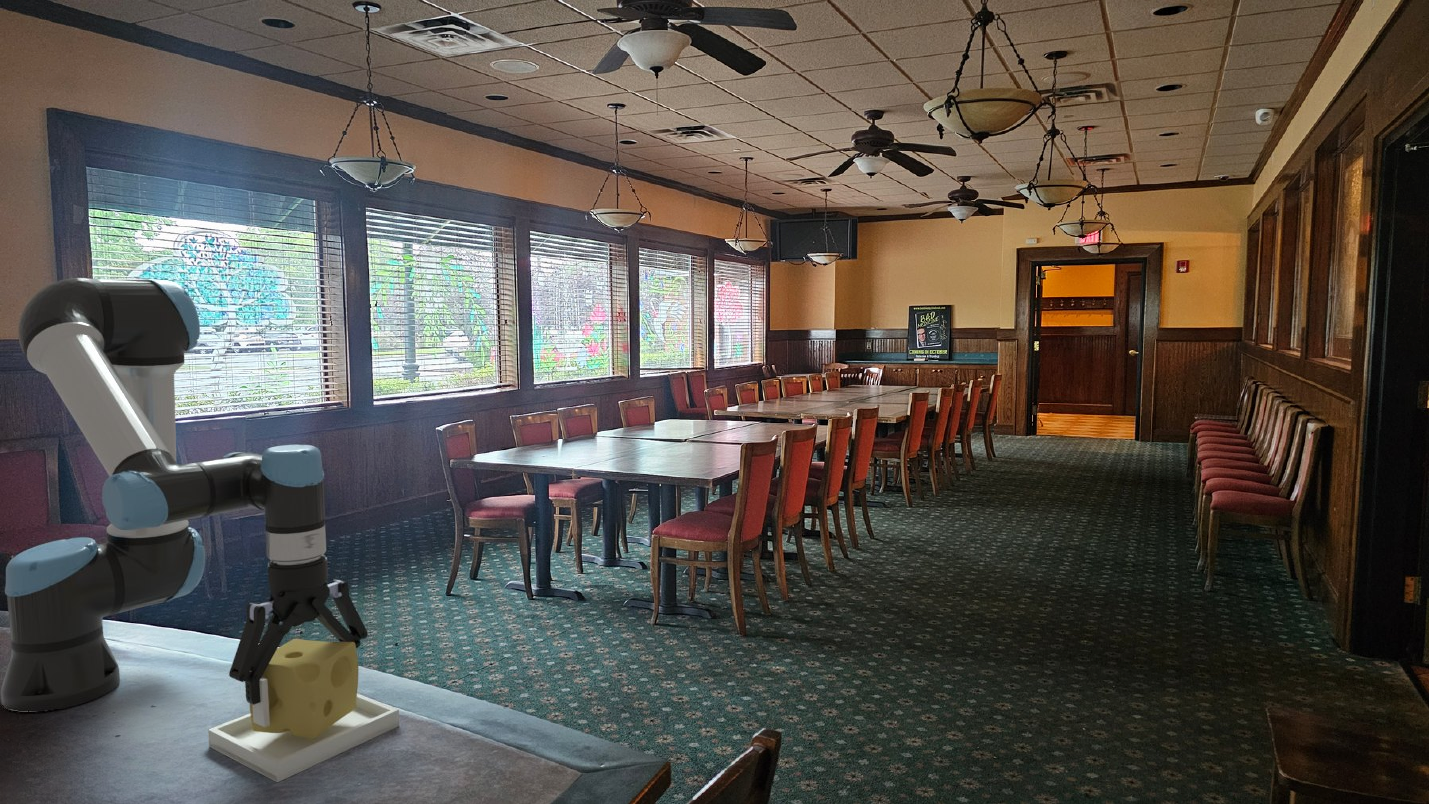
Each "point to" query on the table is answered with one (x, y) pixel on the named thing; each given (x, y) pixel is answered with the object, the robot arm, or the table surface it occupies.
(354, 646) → the cheese
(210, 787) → the table surface
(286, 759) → the serving tray
